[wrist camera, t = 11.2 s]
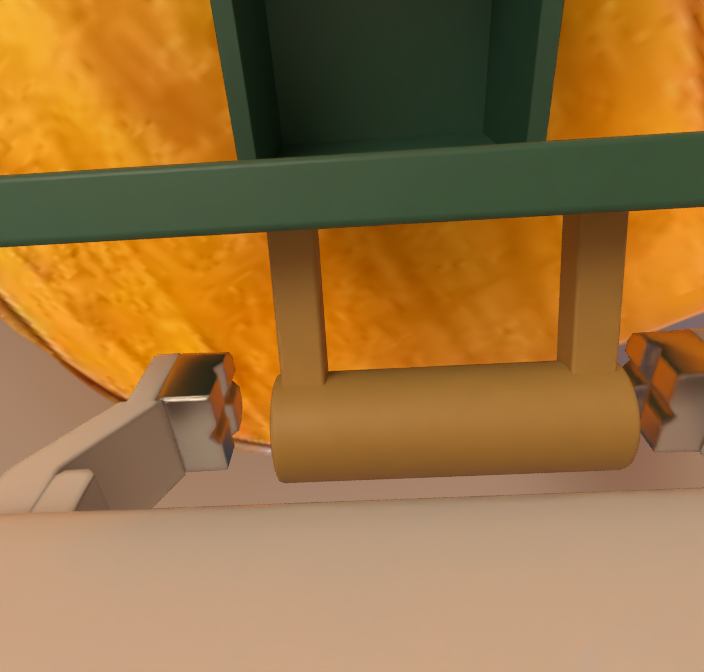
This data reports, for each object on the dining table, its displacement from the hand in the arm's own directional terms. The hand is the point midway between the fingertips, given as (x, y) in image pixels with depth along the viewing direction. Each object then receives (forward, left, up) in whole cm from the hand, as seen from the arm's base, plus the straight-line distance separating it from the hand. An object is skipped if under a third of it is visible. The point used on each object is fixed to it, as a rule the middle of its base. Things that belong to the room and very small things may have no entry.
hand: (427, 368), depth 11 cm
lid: (-2, +1, -5) cm, 6 cm away
